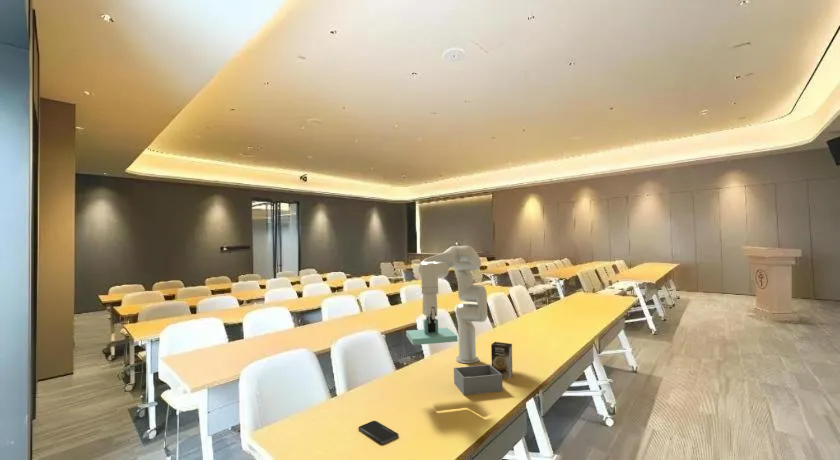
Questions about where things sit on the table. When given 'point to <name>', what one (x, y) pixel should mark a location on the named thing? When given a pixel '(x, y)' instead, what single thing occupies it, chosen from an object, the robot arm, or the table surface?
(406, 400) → the table surface
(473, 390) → the tub
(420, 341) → the lid
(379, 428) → the phone
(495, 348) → the coffee box
